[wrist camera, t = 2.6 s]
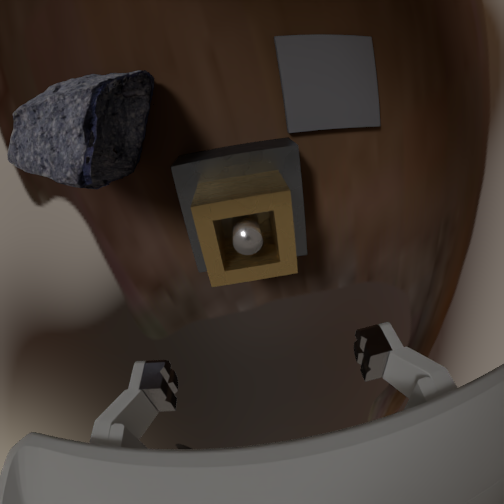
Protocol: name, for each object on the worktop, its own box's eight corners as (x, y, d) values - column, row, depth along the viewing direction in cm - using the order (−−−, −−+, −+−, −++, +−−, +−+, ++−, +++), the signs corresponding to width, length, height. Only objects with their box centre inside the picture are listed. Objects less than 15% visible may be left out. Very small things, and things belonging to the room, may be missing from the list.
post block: (178, 156, 25) (156, 186, 18) (288, 137, 25) (315, 159, 18) (201, 250, 31) (194, 308, 23) (298, 234, 30) (321, 287, 23)
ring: (197, 183, 23) (190, 207, 19) (278, 170, 23) (290, 190, 19) (214, 252, 26) (211, 287, 22) (286, 240, 26) (297, 273, 22)
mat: (273, 37, 20) (274, 36, 20) (368, 37, 20) (371, 36, 20) (287, 132, 25) (289, 133, 25) (377, 125, 25) (380, 126, 24)
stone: (180, 89, 24) (150, 192, 26) (96, 81, 24) (69, 173, 25) (130, 27, 12) (76, 192, 14) (25, 39, 12) (-16, 169, 14)
